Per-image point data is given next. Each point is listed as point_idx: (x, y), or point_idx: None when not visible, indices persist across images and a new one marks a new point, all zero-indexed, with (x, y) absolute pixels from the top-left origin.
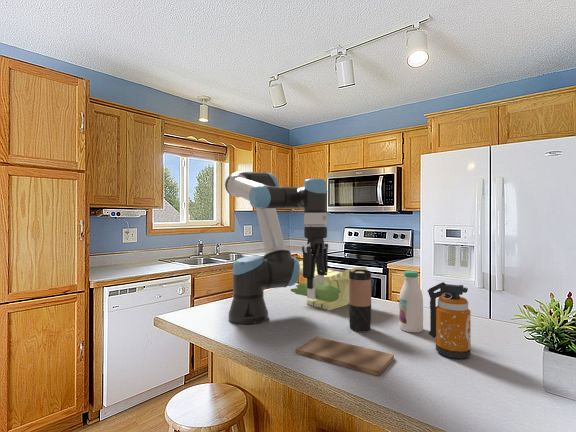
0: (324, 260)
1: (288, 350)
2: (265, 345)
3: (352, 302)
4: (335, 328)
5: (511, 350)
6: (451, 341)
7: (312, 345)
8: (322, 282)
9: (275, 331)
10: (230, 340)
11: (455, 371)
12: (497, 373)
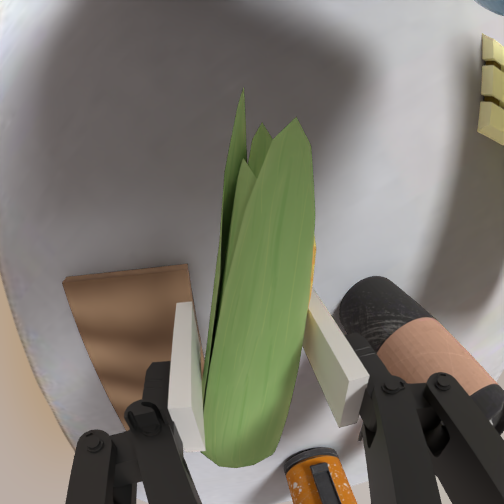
0: (457, 493)
1: (62, 248)
2: (38, 165)
3: (383, 359)
4: (331, 248)
5: (359, 474)
6: (289, 488)
7: (115, 304)
8: (322, 387)
9: (157, 84)
10: (6, 53)
11: (240, 476)
12: (269, 491)
